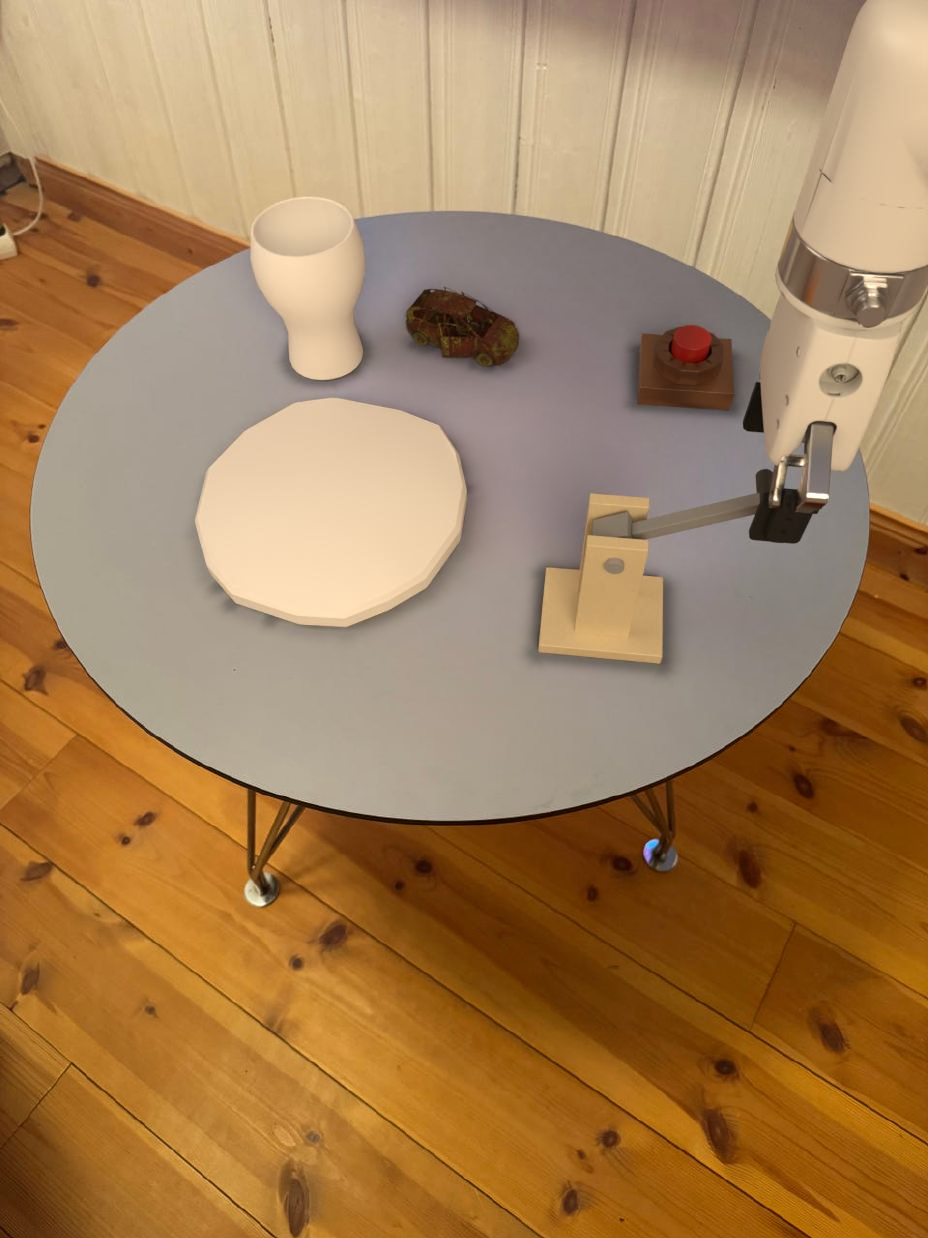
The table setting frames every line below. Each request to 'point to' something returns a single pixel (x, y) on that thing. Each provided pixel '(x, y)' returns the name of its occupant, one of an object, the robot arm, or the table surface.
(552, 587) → the lever base
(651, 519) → the lever
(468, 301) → the toy car
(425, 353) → the table surface
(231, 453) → the decorative plate
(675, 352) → the button
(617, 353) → the table surface
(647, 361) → the button block
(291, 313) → the cup
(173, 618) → the table surface
